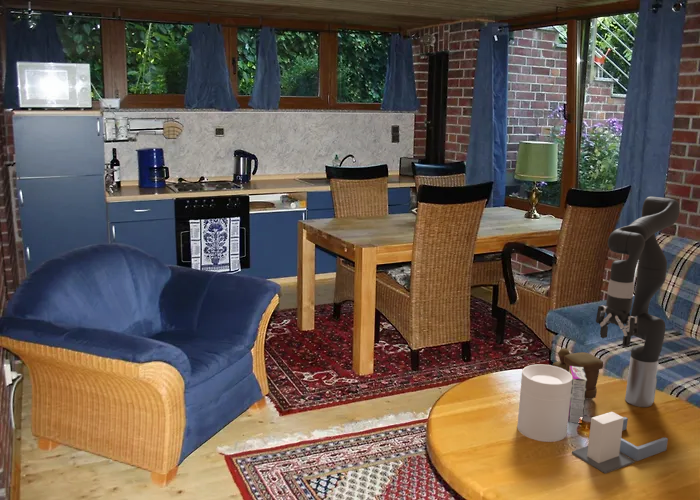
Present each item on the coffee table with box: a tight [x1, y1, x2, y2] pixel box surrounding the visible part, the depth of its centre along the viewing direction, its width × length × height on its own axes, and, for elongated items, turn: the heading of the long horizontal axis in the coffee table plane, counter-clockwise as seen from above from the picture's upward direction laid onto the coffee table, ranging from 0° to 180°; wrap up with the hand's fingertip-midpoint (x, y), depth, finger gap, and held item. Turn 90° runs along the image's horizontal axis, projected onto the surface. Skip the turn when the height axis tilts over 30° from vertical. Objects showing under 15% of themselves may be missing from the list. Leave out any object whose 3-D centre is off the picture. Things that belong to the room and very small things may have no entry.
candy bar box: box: [568, 366, 587, 424], centre depth 237 cm, size 11×5×16 cm, turn 168°
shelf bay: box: [620, 416, 669, 462], centre depth 221 cm, size 14×16×4 cm
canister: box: [517, 363, 572, 443], centre depth 227 cm, size 16×16×20 cm
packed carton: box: [587, 411, 624, 463], centre depth 211 cm, size 4×9×13 cm, turn 119°
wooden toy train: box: [552, 347, 604, 401], centre depth 254 cm, size 20×11×17 cm, turn 22°
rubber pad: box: [571, 445, 636, 474], centre depth 213 cm, size 13×13×1 cm
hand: (614, 341), depth 220 cm, fingers open, 8 cm apart
